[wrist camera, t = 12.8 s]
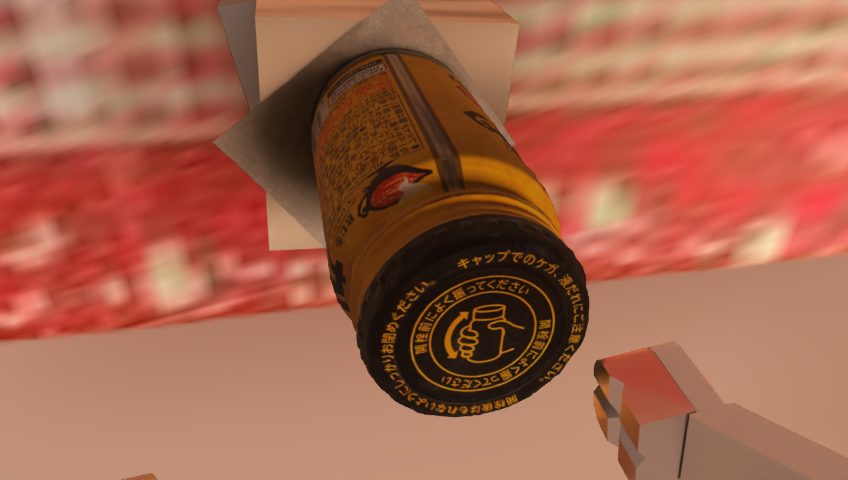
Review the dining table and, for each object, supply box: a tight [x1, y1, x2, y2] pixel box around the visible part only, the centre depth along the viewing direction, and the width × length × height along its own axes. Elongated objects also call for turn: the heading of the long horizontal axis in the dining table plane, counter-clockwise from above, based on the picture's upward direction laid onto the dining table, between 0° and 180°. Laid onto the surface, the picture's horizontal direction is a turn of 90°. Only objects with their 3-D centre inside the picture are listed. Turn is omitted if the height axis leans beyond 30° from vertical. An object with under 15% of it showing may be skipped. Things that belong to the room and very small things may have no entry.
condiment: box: [213, 0, 589, 417], centre depth 19 cm, size 7×8×12 cm
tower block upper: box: [255, 0, 520, 251], centre depth 26 cm, size 9×9×4 cm
